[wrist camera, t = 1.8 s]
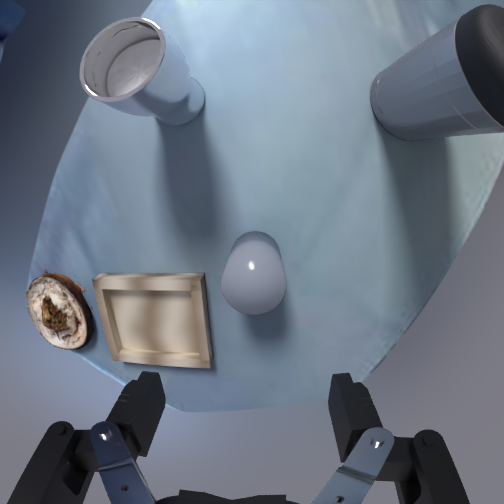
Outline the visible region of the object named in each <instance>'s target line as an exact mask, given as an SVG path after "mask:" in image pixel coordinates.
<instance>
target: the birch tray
mask: <svg viewBox="0 0 504 504" xmlns="http://www.w3.org/2000/svg"><path fill="white" fill-rule="evenodd" d="M92 281H93V286H94V291H95V295H96V300H97V304H98V308H99V312H100V317H101V320H102V324H103V328H104V332H105V335H106V339H107V342H108V346H109V349H110V353H111V356H112V359H113V360H115V361H123V362H131V363H140V364H151V365H162V366H175V367H192V368H211V364H212V360H213V352H212V343H211V335H210V326H209V316H208V307H207V296H206V286H205V275H204V273H101V274H99V275H98V276H97V277H95V278H94V279H92Z"/></svg>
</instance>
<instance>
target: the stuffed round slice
mask: <svg viewBox="0 0 504 504" xmlns="http://www.w3.org/2000/svg"><path fill="white" fill-rule="evenodd" d="M75 276H76V275H75ZM78 278H79V277H78ZM78 284H79V285H81V284H80V283H78ZM84 289H85V288H84V287H83V289H82V291H84ZM85 291H86V290H85ZM26 293H27V294H26V298H27V305H28V310H29V314H30V316H31V318H32V320H33V322H34V324H35V326H36V327H37V329H38V331H39V332H40V333H41V335H43V337H44V338H45V339H46V340H47V341H48V342H49V343H50V344H52V345H53V346H55V347H58V348H61V349H80V348H83V347H84V346H86V345H87V344H88V342H89V341H90V339H91V336H92V333H93V329H94V328H93V327H92V314H91V310H90V309H89V307H88V306H87V304H86V302H85V300H84V298H83V296H82V294H81V289H80V287H79V286H78V285H75V284H74V282H73V281H72V280H71V279H70V278H68V277H66V276H64V275H60V274H55V273H54V274H52V273H46V270H45V273H44V274H43V276H42V277H41V278H36V279H35V280H33V281H32V283H31V284H30V287H29V291H27V292H26ZM91 309H92V307H91Z"/></svg>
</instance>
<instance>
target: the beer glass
mask: <svg viewBox="0 0 504 504" xmlns="http://www.w3.org/2000/svg"><path fill="white" fill-rule="evenodd" d="M80 81H81V84H82V87H83V89H84V90H85V92H86V93H87V94H88V95H89V96H90V97H92V98H93V99H95V100H98V101H101V102H102V103H104V104H106V105H108V106H110V107H112V108H114V109H116V110H118V111H121V112H124V113H127V114H131V115H135V116H146V117H150V116H156V117H157V118H158V119H159V120H160V121H161V122H163V123H165V124H168V125H173V126H177V125H182V124H186V123H188V122H190V121H191V120H193V119H194V118H195V117H196V116H197V115H198V114H199V113H200V111H201V109H202V107H203V104H204V99H205V95H204V90H203V88H202V86H201V84H200V83H199V82H198V81H197V80H196V79H194V78H193V77H191V75H190V70H189V66H188V64H187V61H186V58H185V56H184V54H183V53H182V51H181V50H180V48H179V47H178V45H177V44H176V43H175V42H174V41H173V40H172V38H171V37H169V36H168V35H167V34H166V33H165V32H164V31H163V30H162V29H161V28H160V27H159V26H158V25H157V24H156V23H155V22H153V21H151V20H149V19H146V18H142V17H130V18H126V19H122V20H119V21H117V22H114V23H113V24H111V25H109V26H107V27H106V28H104V29H103V30H102V31H101V32H100V33H98V35H96V36H95V38H94V39H93V40H92V41H91V43H90V44H89V45H88V47H87V49H86V51H85V53H84V55H83V57H82V60H81V65H80Z"/></svg>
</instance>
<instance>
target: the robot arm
mask: <svg viewBox="0 0 504 504" xmlns="http://www.w3.org/2000/svg"><path fill="white" fill-rule="evenodd" d="M370 98H371V104H372V108H373V110H374V113H375V115H376V117H377V119H378V120H379V122H380V123H381V124H382V126H383V127H384V128H385V129H386V130H387V131H389V132H390V133H391V134H393V135H394V136H396V137H398V138H400V139H403V140H409V141H414V140H422V139H432V138H441V137H451V136H462V135H474V134H488V133H502V132H504V8H502V7H499V6H496V5H491V4H487V5H481V6H478V7H476V8H474V9H472V10H470V11H469V12H467V13H466V14H464V15H463V16H461V17H460V18H458V19H457V20H455V21H453V22H452V23H450V24H449V25H447V26H446V27H444V28H443V29H442V30H440V31H439V32H437V33H436V34H434V35H433V36H431V37H430V38H428V39H427V40H425V41H424V42H422V43H421V44H419V45H418V46H417V47H415V48H414V49H412V50H411V51H409V52H408V53H407V54H405V55H404V56H402V57H401V58H400V59H398V60H397V61H396V62H394V63H393V64H391V65H390V66H389V67H387V68H386V69H384V70H383V71H382V72H380V73H379V74H378V75H377V77H376V78H375V79H374V81H373V83H372V87H371V96H370ZM165 401H166V400H165V393H164V390H163V386H162V382H161V378H160V375H159V373H158V372H148V371H143V372H142V373H141V374H140V376H139V378H138V380H132V381H131V382H129V383H128V384H127V385H126V386H125V387H124V389H123V391H122V392H121V395H120V396H119V398H118V401H116V403H115V405H114V407H113V408H112V410H111V412H110V414H109V416H108V418H107V419H106V421H102V422H99V423H97V424H95V425H94V426H93V427H92V428H91V430H74V428H73V426H72V425H71V424H70V423H68V422H65V421H59V422H56V423H54V424H52V425H51V426H50V427H49V428H48V430H47V432H46V433H45V435H44V437H43V438H42V440H41V442H40V443H39V445H38V447H37V449H36V451H35V452H34V454H33V456H32V458H31V459H30V461H29V463H28V464H27V466H26V468H25V470H24V472H23V474H22V475H21V477H20V479H19V481H18V483H17V485H16V487H15V489H14V491H13V493H12V495H11V497H10V499H9V501H8V503H7V504H83V501H84V498H85V496H86V493H87V491H88V488H89V485H90V483H91V480H92V477H93V475H94V472H99V474H100V477H101V479H102V482H103V485H104V487H105V490H106V492H107V495H108V497H109V500H110V502H111V504H299V503H296V502H292V501H286V495H258V496H253V497H247V498H241V499H235V500H229V499H226V498H222V497H218V496H215V495H212V494H208V493H205V492H196V491H187V490H180V491H179V495H178V496H170V497H166V498H163V499H160V500H158V501H157V499H156V498H155V496H154V495H153V493H152V491H151V490H150V488H149V486H148V484H147V482H146V480H145V478H144V476H143V475H142V472H141V471H140V469H139V466H138V464H137V462H136V459H137V457H138V456H143V457H146V456H147V454H148V451H149V448H150V445H151V443H152V440H153V437H154V434H155V432H156V429H157V426H158V424H159V421H160V418H161V416H162V413H163V410H164V408H165ZM328 406H329V412H330V416H331V420H332V425H333V429H334V433H335V438H336V442H337V446H338V451H339V455H340V460H341V463H342V462H344V464H343V465H342V467H339V468H338V469H337V470H336V472H335V473H334V474H333V476H332V477H331V478H330V480H329V481H328V482H327V484H326V485H325V486H324V488H323V489H322V490H321V492H320V493H319V494H318V496H317V497H316V498H315V499H314V500H313V502H312V503H311V504H361V503H362V501H363V500H364V498H365V496H366V495H367V493H368V491H369V490H370V488H371V486H372V485H373V483H374V481H375V480H376V481H394V482H395V486H396V490H397V495H398V499H399V503H400V504H470V503H469V500H468V497H467V495H466V492H465V489H464V487H463V484H462V482H461V479H460V477H459V474H458V472H457V469H456V467H455V465H454V462H453V460H452V458H451V455H450V453H449V451H448V449H447V446H446V444H445V442H444V440H443V437H442V436H441V435H440V434H439V433H438V432H436V431H434V430H422V431H420V432H419V433H417V434H416V435H415V437H414V438H405V437H396V436H393V434H392V433H391V432H390V431H388V430H387V429H385V428H383V426H382V423H381V421H380V418H379V416H378V413H377V411H376V408H375V406H374V404H373V401H372V399H371V396H370V394H369V391H368V389H367V388H366V387H365V386H364V385H363V384H362V383H361V382H357V383H353V381H352V378H351V375H350V373H340V374H333V375H332V380H331V386H330V392H329V399H328Z"/></svg>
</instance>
